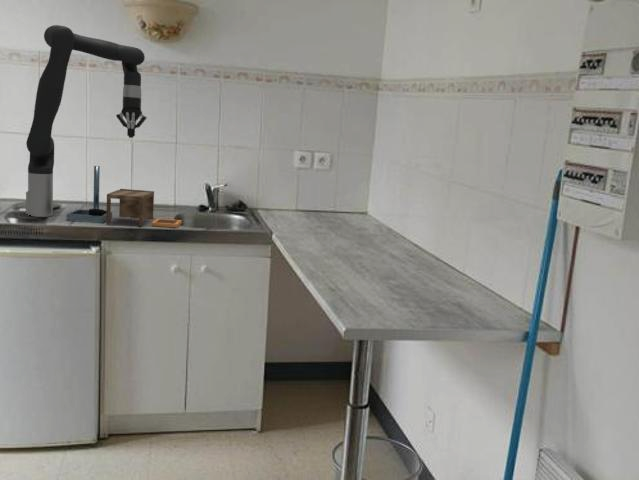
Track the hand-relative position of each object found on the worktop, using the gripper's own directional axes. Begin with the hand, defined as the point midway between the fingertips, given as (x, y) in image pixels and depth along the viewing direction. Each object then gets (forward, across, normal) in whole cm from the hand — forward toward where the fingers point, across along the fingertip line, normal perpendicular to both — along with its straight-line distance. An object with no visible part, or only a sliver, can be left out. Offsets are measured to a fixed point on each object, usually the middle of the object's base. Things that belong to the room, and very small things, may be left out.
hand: (131, 137), depth 288 cm
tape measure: (+33, -5, -22) cm, 40 cm away
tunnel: (+33, +6, -22) cm, 40 cm away
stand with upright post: (+33, -10, -22) cm, 41 cm away
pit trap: (+33, +21, -22) cm, 45 cm away
